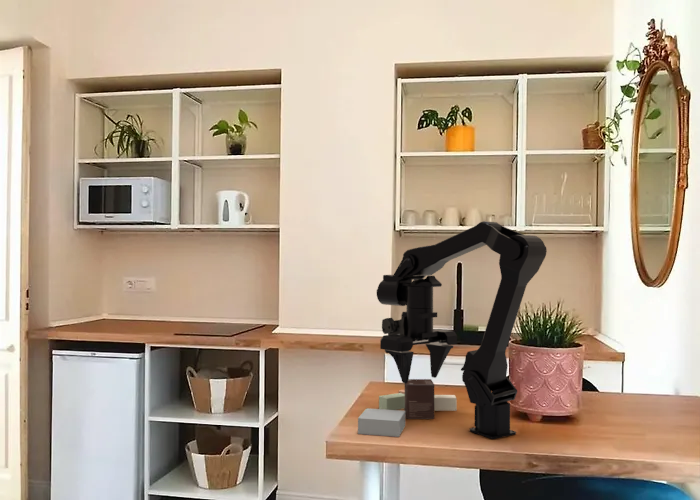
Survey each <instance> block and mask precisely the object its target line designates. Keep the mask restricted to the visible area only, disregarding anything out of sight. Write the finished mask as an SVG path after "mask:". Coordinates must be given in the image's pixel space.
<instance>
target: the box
mask: <svg viewBox="0 0 700 500" xmlns="http://www.w3.org/2000/svg"><path fill="white" fill-rule="evenodd" d="M404 389H405V409H404V411H405V419H406V420H407V419H410V420H416V419H417V420H419V419H420V420H422V419H423V420H426V419H427V420H431V419H432V420H434V419H435V411H434V395H435V383H434V382H433V380H432V379H431V378H430V379H429V378H427V379H426V378H419V379H417V378H416V379H415V378H410V379H408V382H407V383H404Z"/></svg>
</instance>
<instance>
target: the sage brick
mask: <svg viewBox="0 0 700 500" xmlns="http://www.w3.org/2000/svg"><path fill="white" fill-rule="evenodd" d="M378 409H385V410H405V394H402V393H397V392H396V393H391V394H390V393H389V394H384V395H378Z"/></svg>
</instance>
